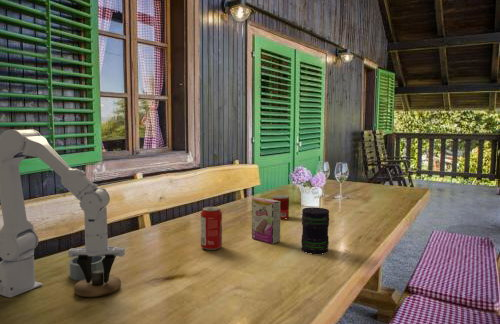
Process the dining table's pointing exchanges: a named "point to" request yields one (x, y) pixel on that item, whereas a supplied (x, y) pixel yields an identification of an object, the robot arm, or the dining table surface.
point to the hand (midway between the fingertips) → (97, 281)
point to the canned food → (283, 205)
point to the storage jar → (315, 230)
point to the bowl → (77, 272)
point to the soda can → (211, 228)
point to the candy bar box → (266, 220)
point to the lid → (97, 285)
